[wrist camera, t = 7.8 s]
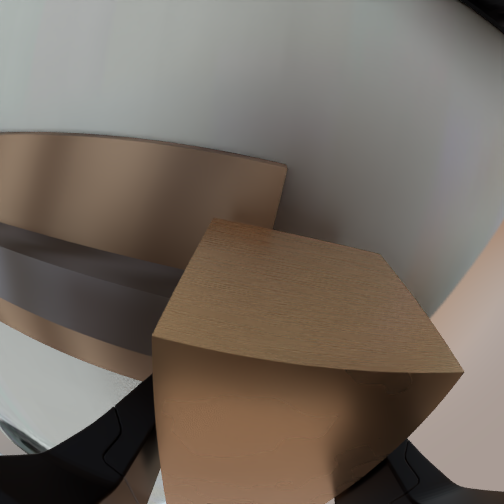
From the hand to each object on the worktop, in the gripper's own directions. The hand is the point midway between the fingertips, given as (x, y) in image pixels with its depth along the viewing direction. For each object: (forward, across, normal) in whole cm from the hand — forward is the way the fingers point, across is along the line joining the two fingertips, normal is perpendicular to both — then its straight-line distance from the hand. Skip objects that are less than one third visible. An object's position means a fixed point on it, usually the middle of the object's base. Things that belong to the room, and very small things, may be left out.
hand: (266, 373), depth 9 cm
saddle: (+1, 0, 0) cm, 1 cm away
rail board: (+4, +11, 0) cm, 11 cm away
